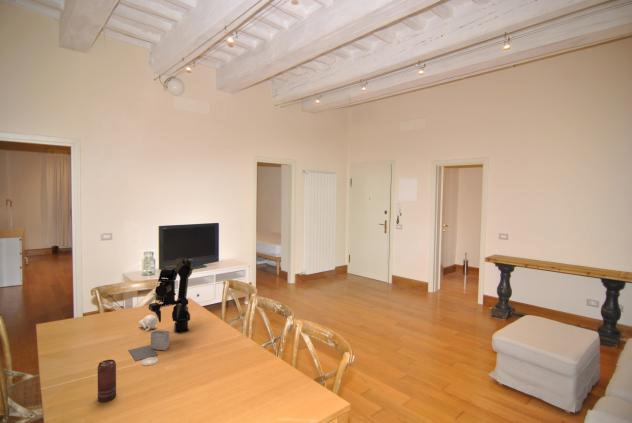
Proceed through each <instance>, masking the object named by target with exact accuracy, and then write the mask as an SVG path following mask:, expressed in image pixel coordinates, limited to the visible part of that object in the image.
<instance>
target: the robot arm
mask: <svg viewBox="0 0 632 423" xmlns="http://www.w3.org/2000/svg"><path fill="white" fill-rule="evenodd" d="M193 270H194V264H193V263H192V262H191V261H190V260H188V259H187V258H186V257H177V258H176V259H175V261H173V262H172V263H171V264H170V265H166V266H163V267H162V268H161V270H160V272H159V277H158V280H157V282H158V284H159V285H157V286H156V288H155V290H154V291H155V301H156V302H151V303H149V304H148V310H149V311H151V312H153V313H154V314H155V315H156V319H157V321H158V323H161V322H162V310H161V308H165V307H170V306H171V307H172V306H173V308H172V309H173V310H172V313H171V319H172V322H175V323H174V324H173V327H174V328H173V330H174V331H175V332H176V333H177V334H181V333H184V332H188V331H190V329H188V328H189V326H188V325H189V321H191V313H190V311H189V306H188V305H189V299H188V298H187V297H188V296H187V294H188V286H189V278H190V277H191V275H192V272H193ZM178 277H179V283H178V284H179V285H178V292H177V293H176V280H177V278H178ZM176 294H177V295H176ZM176 296H177V299H176ZM157 301H159V302H157Z"/></svg>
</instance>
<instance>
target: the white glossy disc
mask: <svg viewBox="0 0 632 423" xmlns="http://www.w3.org/2000/svg"><path fill="white" fill-rule="evenodd" d="M158 362H159V359H158V358H157V357H156V356H153V357H149V358H145V359H142V360H141V366H144V367H150V366H153V365H155V364H157V363H158Z"/></svg>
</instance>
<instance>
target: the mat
mask: <svg viewBox="0 0 632 423" xmlns="http://www.w3.org/2000/svg"><path fill="white" fill-rule="evenodd" d="M150 346H151V344H148V345H145V346H139V347H135V348H132V349H131V348H130V349H128V353H129V354H130V356H131V357H132V359H133V360H134V361H135V362H138V361H142V360H143V359H145V358H149V357H156V356H158V355H159V354H158V353H157V352H156V350H155V349H150Z"/></svg>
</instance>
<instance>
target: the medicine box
mask: <svg viewBox="0 0 632 423" xmlns="http://www.w3.org/2000/svg"><path fill="white" fill-rule="evenodd" d="M170 332H171V331H170V330H165V329H161V330H160V329H154V330H153V331H151V332H150V349H153V350H155V351H156V350H159V351H166V350H167V349H169V347H170V334H171V333H170Z"/></svg>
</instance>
